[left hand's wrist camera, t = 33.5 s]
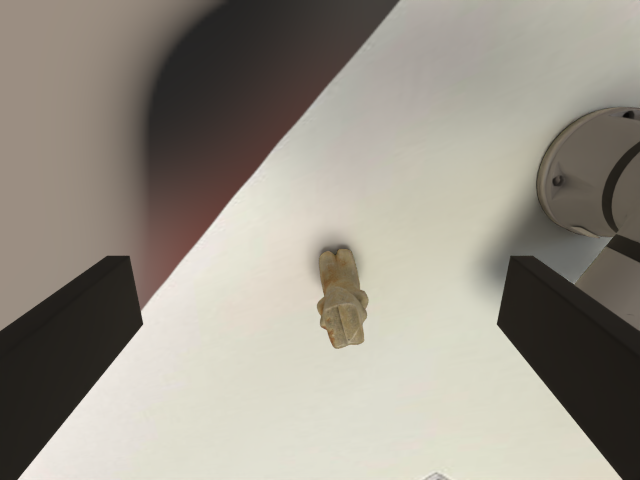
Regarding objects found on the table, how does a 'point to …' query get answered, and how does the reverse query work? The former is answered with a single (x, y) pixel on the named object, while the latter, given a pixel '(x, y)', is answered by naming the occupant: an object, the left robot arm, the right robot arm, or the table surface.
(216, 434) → the table surface
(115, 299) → the left robot arm
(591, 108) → the table surface
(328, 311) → the sculpture
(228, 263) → the table surface
